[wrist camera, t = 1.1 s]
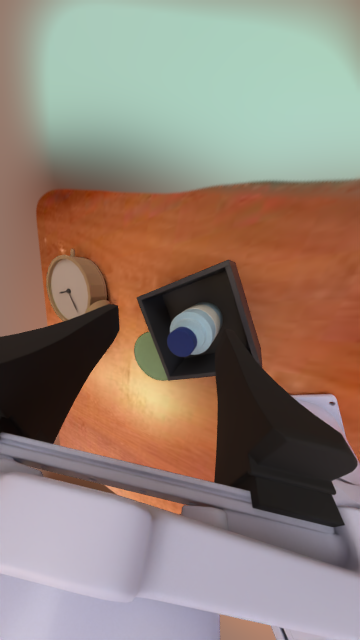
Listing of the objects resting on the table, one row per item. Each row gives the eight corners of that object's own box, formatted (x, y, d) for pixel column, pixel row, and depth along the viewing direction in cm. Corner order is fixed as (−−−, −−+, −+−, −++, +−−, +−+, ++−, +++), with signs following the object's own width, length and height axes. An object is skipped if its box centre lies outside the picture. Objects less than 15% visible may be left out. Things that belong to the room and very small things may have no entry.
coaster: (188, 376, 26) (187, 378, 26) (146, 381, 30) (145, 382, 30) (169, 326, 25) (168, 326, 25) (128, 337, 29) (127, 338, 29)
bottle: (227, 331, 22) (213, 364, 14) (195, 338, 24) (166, 370, 16) (216, 296, 21) (195, 311, 13) (184, 307, 23) (149, 325, 15)
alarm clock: (68, 237, 25) (102, 331, 23) (98, 247, 29) (128, 327, 27) (38, 276, 30) (64, 354, 28) (67, 279, 34) (91, 347, 33)
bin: (260, 348, 21) (262, 371, 16) (184, 360, 26) (168, 380, 21) (235, 262, 19) (228, 259, 15) (159, 292, 24) (136, 297, 20)
